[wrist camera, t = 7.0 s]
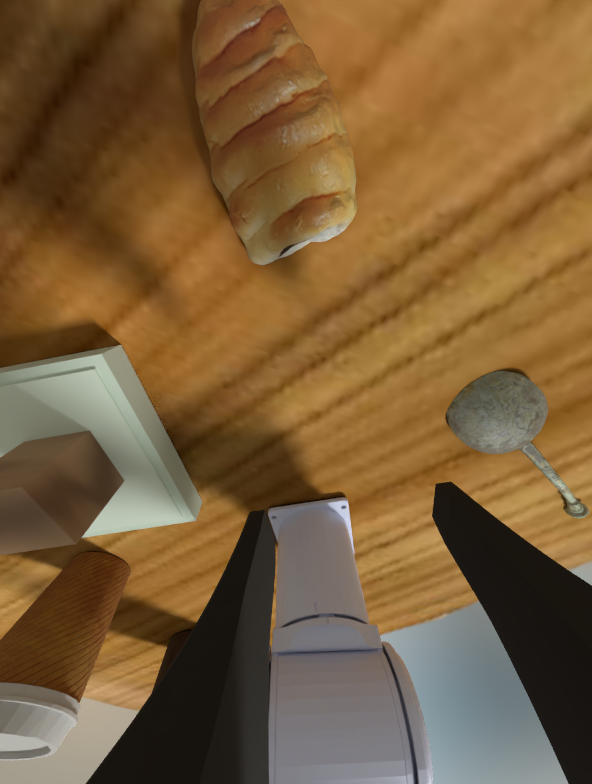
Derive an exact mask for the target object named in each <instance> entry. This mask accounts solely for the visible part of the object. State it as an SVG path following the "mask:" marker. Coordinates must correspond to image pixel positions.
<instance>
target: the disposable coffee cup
mask: <svg viewBox="0 0 592 784" xmlns="http://www.w3.org/2000/svg"><path fill="white" fill-rule="evenodd" d="M129 575H130V568H129V566H128V565H127V564H126V563H125V562H124V561H123V560H121V559H119V558H117V557H115V556H113V555H110V554H106V553H101V552H85V553H81V554H78V555H77V556H75V557H74V558H73V559H72V560H71V561H70V562H69V564H68V565H67V566H66V567H65V568H64V569H63V570H62V571H61V573H60V574H59V575H58V576H57V577H56V578H55V579H54V580H53V582H52V583H51V584H50V585H49V586H48V587H47V588H46V589H45V591H44V592H43V593H42V594H41V595H40V596H39V597H38V598H37V600H36V601H35V602H34V603H33V604H32V605H31V606H30V607H29V609H28V610H27V611H26V612H25V613H24V614H23V615H22V616H21V618H20V619H19V620H18V621H17V622H16V623H15V624H14V625H13V627H12V628H11V629H10V630H9V631H8V632H7V633H6V634H5V636H4V637H3V638H2V639H1V640H0V760H26V759H35V758H41V757H46V756H50V755H52V754H54V753H55V752H56V751H57V749H58V748H59V746H60V744H61V743H62V741H63V739H64V738H65V736H66V735H67V733H68V731H69V730H70V729H71V728H73V727H74V726H75V725H76V723H77V720H78V717H77V714H78V711H79V709H80V704H79V703H80V700H81V698H82V695H83V692H84V690H85V687H86V685H87V682H88V680H89V678H90V675H91V672H92V670H93V667H94V664H95V662H96V660H97V657H98V654H99V652H100V649H101V647H102V644H103V642H104V639H105V636H106V634H107V631H108V628H109V626H110V624H111V621H112V618H113V616H114V613H115V610H116V608H117V605H118V603H119V600H120V598H121V595H122V593H123V590H124V587H125V585H126V582H127V580H128V577H129Z"/></svg>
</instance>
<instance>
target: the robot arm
mask: <svg viewBox="0 0 592 784" xmlns="http://www.w3.org/2000/svg"><path fill="white" fill-rule="evenodd" d="M268 516H269V519H270V522H271V525H272V528H273V530H274V533H275V536H276V539H277V542H278V560H277V590H276V619H275V628H274V629H273V642H272V652H271V646H269V642H270V627H271V615H272V604H273V592H274V579H275V537H274V534H273V532H272V529H271V526H270V523H269V520H268V518H267V515H266V512H265V510H260V511H254V512H250V513H249V515H248V518H247V521H246V523H245V526H244V528H243V531H242V533H241V535H240V538H239V540H238V543H237V545H236V547H235V549H234V552H233V554H232V556H231V558H230V560H229V562H228V565H227V567H226V569H225V571H224V573H223V575H222V577H221V579H220V581H219V583H218V585H217V587H216V589H215V591H214V593H213V594H212V596H211V598H210V600H209V602H208V604H207V606H206V608H205V609H204V611H203V613H202V615H201V616H200V618H199V620H198V622H197V623H196V625H195V627H194V628H193V630H192V632H191V634H190V635H189V637H188V638H187V640H186V642H185V643H184V645H183V647H182V648H181V650H180V651H179V653H178V655H177V656H176V658H175V659H174V661H173V662H172V664H171V666H170V667H169V669H168V670H167V672H166V673H165V675H164V676H163V678H162V679H161V681H160V682H159V684H158V685H157V687H156V688H155V689H154V691H153V692H152V694H151V695H150V697H149V698H148V700H147V701H146V702H145V704H144V705H143V707H142V708H141V710H140V711H139V713H138V714H137V715H136V717H135V718H134V720H133V721H132V723H131V724H130V725H129V727H128V728H127V729H126V731H125V732H124V734H123V735H122V736H121V738H120V739H119V740H118V742H117V743H116V744H115V746H114V747H113V748H112V750H111V751H110V752H109V754H108V755H107V756H106V758H105V759H104V760H103V762H102V763H101V764H100V766H99V767H98V768H97V770H96V771H95V772H94V774H93V775H92V776H91V778H90V779H89V780H88V782H87V783H86V784H433V770H432V760H431V753H430V747H429V741H428V736H427V731H426V727H425V722H424V718H423V715H422V711H421V707H420V704H419V700H418V697H417V694H416V691H415V688H414V685H413V682H412V680H411V677H410V675H409V672H408V670H407V668H406V666H405V664H404V662H403V661H402V659H401V658H400V656H399V655H398V654H397V653H396V652H395V650H394V648H393V647H392V646H391V645H390V644H389V643H387V642H381V639H380V635H379V631H378V627H377V625H370V623H369V618H368V614H367V610H366V605H365V601H364V597H363V592H362V588H361V584H360V579H359V575H358V571H357V566H356V562H355V558H354V546H353V538H352V529H351V521H350V513H349V505H348V500H347V498H344V497H341V498H334V499H328V500H321V501H314V502H308V503H301V504H294V505H288V506H281V507H274V508H270V509H269V510H268ZM432 517H433V519H434V521H435V523H436V526H437V528H438V530H439V532H440V534H441V536H442V538H443V540H444V543H445V544H446V546H447V548H448V549H449V551H450V553H451V555H452V556H453V558H454V560H455V561H456V563H457V565H458V566H459V568H460V570H461V571H462V573H463V575H464V576H465V578H466V580H467V581H468V583H469V585H470V586H471V588H472V590H473V591H474V593H475V595H476V596H477V598H478V600H479V601H480V603H481V604H482V606H483V608H484V610H485V611H486V613H487V615H488V617H489V619H490V620H491V622H492V624H493V626H494V628H495V630H496V632H497V634H498V636H499V638H500V640H501V642H502V643H503V645H504V648H505V649H506V651H507V653H508V655H509V657H510V659H511V661H512V663H513V665H514V668H515V670H516V672H517V674H518V676H519V678H520V680H521V682H522V684H523V686H524V688H525V690H526V692H527V694H528V696H529V698H530V700H531V702H532V704H533V707H534V709H535V711H536V713H537V715H538V717H539V720H540V722H541V724H542V726H543V728H544V730H545V732H546V735H547V737H548V739H549V741H550V743H551V745H552V747H553V750H554V752H555V754H556V756H557V759H558V761H559V763H560V765H561V767H562V770H563V772H564V774H565V776H566V779H567V781H568V783H569V784H592V586H591V585H590V584H588V583H587V582H585V581H584V580H582V579H581V578H579V577H578V576H576V575H575V574H573V573H572V572H570V571H569V570H567V569H566V568H564V567H563V566H561V565H560V564H558V563H557V562H555V561H554V560H552V559H551V558H550V557H548V556H547V555H545V554H544V553H543V552H541V551H540V550H538V549H537V548H536V547H534V546H533V545H531V544H530V543H529V542H527V541H526V540H524V539H523V538H522V537H520V536H519V535H518V534H516V533H515V532H514V531H512V530H511V529H510V528H509V527H507V526H506V525H505V524H503V523H502V522H501V521H499V520H498V519H497V518H496V517H494V516H493V515H492V514H490V513H489V512H488V511H487V510H485V509H484V508H483V507H482V506H480V505H479V504H478V503H477V502H475V501H474V500H473V499H472V498H471V497H469V496H468V495H467V494H466V493H464V492H463V491H462V490H461V489H460V488H458V487H457V486H456V485H455V484H453V483H452V482H446V483H439V484H436V487H435V496H434V505H433V514H432Z"/></svg>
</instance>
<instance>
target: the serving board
mask: <svg viewBox="0 0 592 784" xmlns="http://www.w3.org/2000/svg"><path fill="white" fill-rule="evenodd" d="M89 430H90V431H91V433H92V434H93V436H94V437H95V439H96V440H97V442H98V443H99V444H100V446H101V447H102V449H103V450H104V452H105V453H106V455H107V456H108V457H109V459H110V460H111V462H112V463H113V465H114V466H115V468H116V469H117V470H118V472H119V473H120V475H121V476H122V478H123V479H124V482H123V484H122V485H121V486H120V488H119V489H118V490H117V492H116V493H115V494H114V496H113V497H112V498H111V500H110V501H109V502H108V504H107V505H106V506H105V507H104V509H103V510H102V511H101V513H100V514H99V515H98V517H97V518H96V519H95V521H94V522H93V523H92V525H91V526H90V527H89V529H88V530H87V531H86V532H85V534H84V535H83V536H82V538H84V537H90V536H97V535H104V534H110V533H117V532H124V531H130V530H137V529H144V528H151V527H157V526H164V525H171V524H177V523H184V522H191V521H196V519H197V516H198V513H199V510H200V508H201V505H202V500H201V498H200V496H199V494H198V492H197V490H196V488H195V486H194V485H193V483H192V481H191V479H190V477H189V475H188V473H187V471H186V469H185V467H184V465H183V463H182V461H181V459H180V458H179V456H178V454H177V452H176V450H175V448H174V446H173V444H172V442H171V440H170V438H169V436H168V434H167V432H166V431H165V429H164V427H163V425H162V423H161V421H160V419H159V417H158V415H157V413H156V411H155V409H154V407H153V405H152V403H151V402H150V400H149V398H148V396H147V394H146V392H145V390H144V388H143V386H142V384H141V382H140V380H139V378H138V376H137V375H136V373H135V371H134V369H133V367H132V365H131V363H130V361H129V359H128V357H127V355H126V353H125V351H124V349H123V348H122V346H121V345H117V346H112V347H106V348H101V349H96V350H91V351H86V352H80V353H75V354H70V355H65V356H60V357H54V358H49V359H44V360H39V361H34V362H28V363H23V364H18V365H13V366H8V367H2V368H0V457H2V456H3V455H5V454H6V453H8V452H9V451H11V450H12V449H14V448H15V447H17V446H18V445H20V444H21V443H23V442H25V441H31V440H37V439H43V438H48V437H54V436H60V435H66V434H71V433H77V432H83V431H89Z"/></svg>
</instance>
